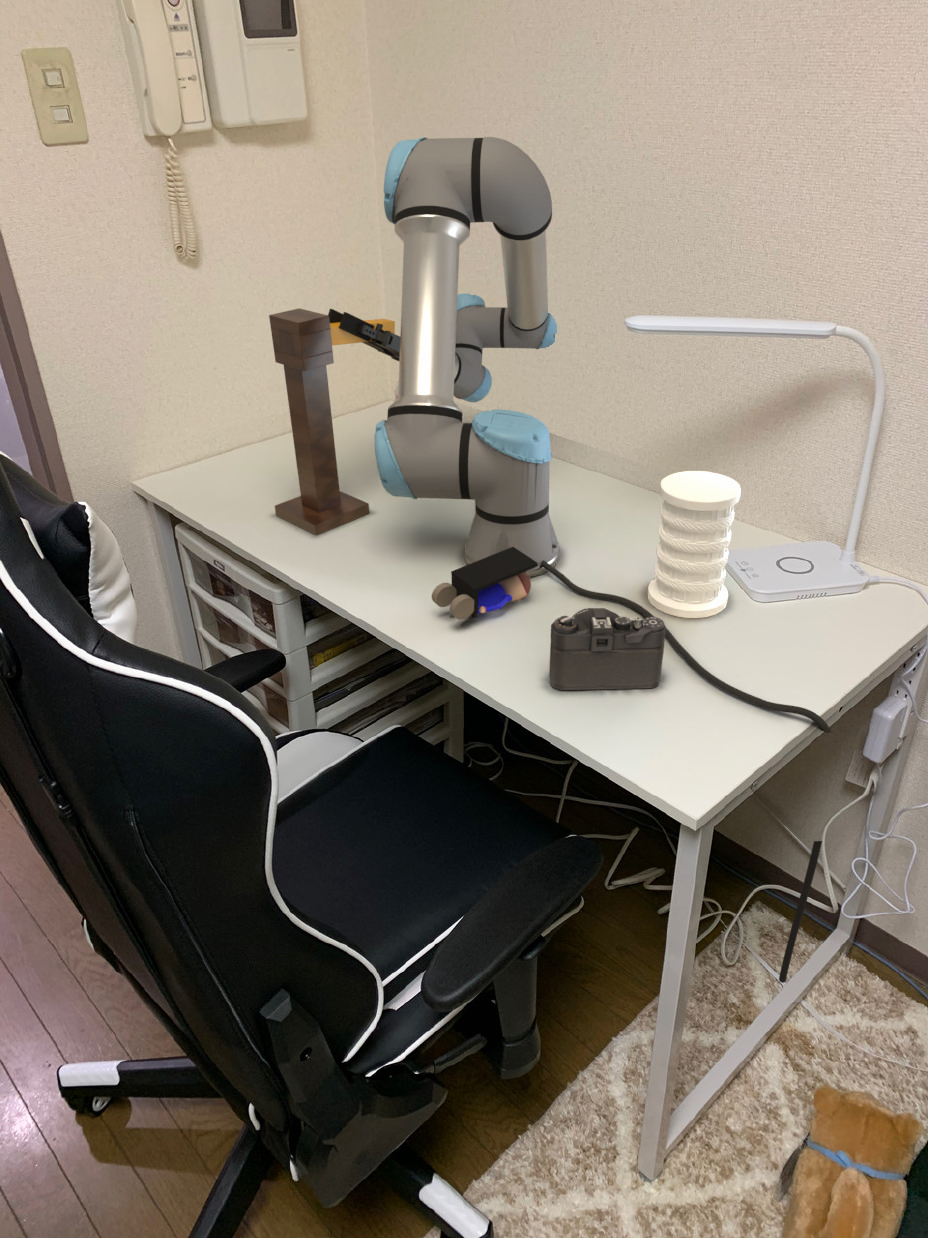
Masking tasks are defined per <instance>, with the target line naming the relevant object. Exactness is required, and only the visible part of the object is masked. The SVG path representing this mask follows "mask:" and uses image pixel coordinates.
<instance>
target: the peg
mask: <svg viewBox="0 0 928 1238" xmlns="http://www.w3.org/2000/svg"><path fill="white" fill-rule="evenodd" d="M362 320H363V321H365V322H367V323H369V324H371V325H374V329H376V326H377V323H379V324H382V325H383V328H382V330H384V331H390V332H391V333H393V334H395V332H396V331H395V330H396V321H395V320H391V319H388V318H376V319H365V320H364V319H362ZM340 323H341V322H339V323H330V330H331V340H332V346H340V345H349V344H350V345H351V344H360V343H362V342H369V341H366V340H364V339H362V338H359V337H357V336H355V335H353V334H351V333H349V332H346V331H344V330H342V329H340V328H339V326H340ZM395 335H396V334H395ZM370 341H372V338H371V339H370Z"/></svg>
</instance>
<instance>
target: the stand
mask: <svg viewBox="0 0 928 1238" xmlns="http://www.w3.org/2000/svg"><path fill="white" fill-rule="evenodd" d="M268 317H269V318H268V319H269V325H270V332H271V339H272V347H273V353H274V361H275V363H277V364H280V365H283V371H284V378H285V387H286V394H287V402H288V410H289V417H290V423H291V433H292V439H293V446H294V455H295V462H296V470H297V477H298V485H299V492H300V495H299V496H297V497H294V498H292V499H288V500H286V501H283V502H280V503H278V504H275V505H274V512H275V516H276V517H278V518H280V519H282V520H284V521H286V522H288V523H290V524H292V525H294V526H296V527H298V528H300V529H302V530H304V531H305V532H308V533H310V534H312V535H314V536H318V535H321V534H323V533H326V532H328V531H331V530H333V529H335V528H339V527H340V526H342V525H345V524H348V523H350V522H352V521H355V520H357V519H360V518H363V517H364V516H367V515H369V514H370V503H368V502H367V501H364V500H362V499H359V498H357V497H356V496H353V495H350V494H348V493H346V492H343V491H341V489H340V482H339V480H340V479H339V473H338V472H339V471H338V462H337V453H336V444H335V443H336V442H335V435H334V426H333V425H334V423H333V416H332V415H333V414H332V407H331V397H330V387H329V378H328V369H327V366H329V365H332V364H334V363H335V360H334V351H333V345H332V340H331V330H330V320H329V316H328V314H323V313H319V312H316V311H312V310H309V309H303V308H294V309H290V310H286V311H281V312H277V313H272V314H269V315H268Z"/></svg>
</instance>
